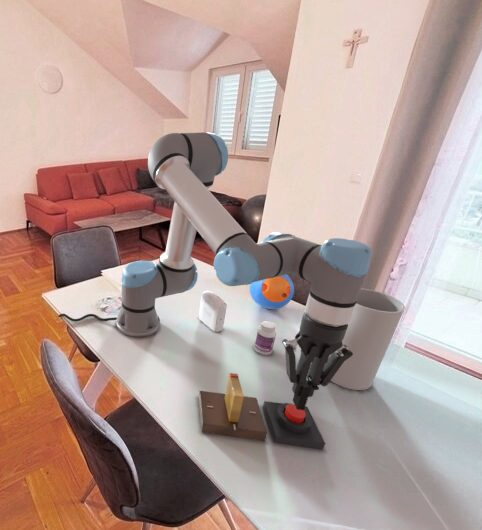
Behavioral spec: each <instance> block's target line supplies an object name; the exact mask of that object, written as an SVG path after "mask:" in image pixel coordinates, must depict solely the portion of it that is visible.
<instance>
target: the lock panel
mask: <svg viewBox="0 0 482 530" xmlns="http://www.w3.org/2000/svg"><path fill="white" fill-rule="evenodd" d="M243 396H244V398H243V403H242V407H241V411H240V416H239V420H238V422H231V421H229V418H228V413H227V408H226V403H225V393H221V392H216V391H215V392H213V391H207V390H206V391H205V390H199V391H198V399H197V402H198V410H199V411H198V413H199V421H200V430H201V433H205V434H211V435H217V436H224V437H232V438H238V439H245V440H252V441H257V442H266V440H267V436H268V430H267V427H266V423H265V420H264V417H263V414H262V411H261V408H260V405H259V402H258V398H257V397H254V396H248V395H247V396H246V395H243Z"/></svg>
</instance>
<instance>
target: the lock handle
mask: <svg viewBox="0 0 482 530" xmlns="http://www.w3.org/2000/svg"><path fill="white" fill-rule="evenodd" d="M224 394H225V403H226V408H227V413H228V418H229V421H231V422H238V420H239V416H240V411H241V407H242V403H243V398H244V396H245V395H244V392H243V388H242V385H241V381H240V377H239V374H238V373H233V372H229V373H228V377H227V383H226V388H225V393H224Z"/></svg>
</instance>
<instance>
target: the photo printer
mask: <svg viewBox="0 0 482 530" xmlns="http://www.w3.org/2000/svg"><path fill="white" fill-rule="evenodd" d="M227 308H228V304H227V302H226V301H225V299H223V298H222V297H221V296H220V295H219V294H217V293H216V292H214V291H210V290H204V291H203V292H202V293H201V297H200V303H199V310H198V319H199V320H200V322H202V323H203V324H205V326H207V327H208V328H209V329H210V330H211V331H213V332H216V333H217V332H221V331H222V330H223V329H224V324H225V319H226V314H227Z"/></svg>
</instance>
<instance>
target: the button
mask: <svg viewBox="0 0 482 530" xmlns="http://www.w3.org/2000/svg"><path fill="white" fill-rule="evenodd" d="M285 416H286V418H287V419H289V420H290V421H292V422H294V423H298V424H300V423H303V422H304V419H305V416H306V413H305V411H304V410H298V409H297V408H296V406H295V404H294V403H290V404H288V405H287V406H286V409H285Z"/></svg>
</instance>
